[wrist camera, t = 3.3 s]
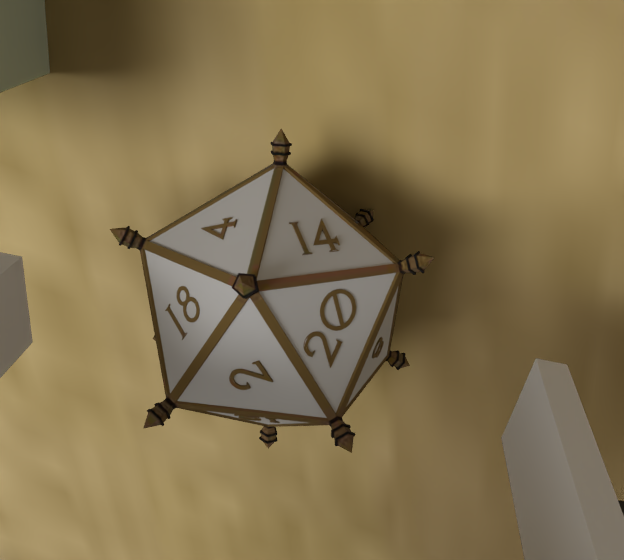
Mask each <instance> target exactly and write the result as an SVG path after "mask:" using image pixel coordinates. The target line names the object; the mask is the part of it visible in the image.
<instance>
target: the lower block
mask: <svg viewBox="0 0 624 560" xmlns="http://www.w3.org/2000/svg"><path fill="white" fill-rule="evenodd" d="M49 73H50V66H49V53H48V39H47V26H46V13H45V0H0V92H3V91H5V90H8V89H10V88H13V87H16V86H18V85H21V84H23V83H26V82H28V81H31V80H33V79H36V78H39V77H41V76H44V75H46V74H49Z"/></svg>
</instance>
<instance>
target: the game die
mask: <svg viewBox="0 0 624 560" xmlns="http://www.w3.org/2000/svg"><path fill="white" fill-rule="evenodd" d="M271 145H272V149H273V151H271V154H272V155H273V157H274V162H273V164H271V165H270V166H268V167H266V168H265V169H263V170H261V171H260V172H258V173H256V174H254V175H253V176H251V177H249V178H248V179H246V180H244V181H243V182H241V183H239V184H237V185H236V186H234V187H232V188H231V189H229V190H227V191H225V192H224V193H222V194H220V195H219V196H217V197H215V198H214V199H212V200H210V201H208V202H207V203H205V204H203V205H202V206H200V207H198V208H197V209H195V210H193V211H191V212H190V213H188V214H186V215H185V216H183V217H181V218H180V219H178V220H176V221H174V222H173V223H171V224H169V225H168V226H166V227H164V228H162V229H161V230H159V231H157V232H156V233H154V234H152V235H151V236H149V237H147V238H143V237H142V236H140V235H139V234H138V231H137V230H136V231H133V230H131V229H129V226H128V227H127V228H116V229H110V230H111V232H112V233H113V234H114V236H115V237H116V239H117V240H118V242H119V245H120V246H121V244H122V245H125V246H128V249H130V247H131V248H137V249H139V250H140V253H141V259H142V264H143V270H144V276H145V281H146V287H147V293H148V298H149V304H150V310H151V315H152V321H153V327H154V332H155V336H154V337H153V339H154V340H155V341H156V344H157V349H158V355H159V360H160V366H161V372H162V377H163V383H164V389H165V394H166V399H165V400H164V401H163V402H161V403H156V404H155V407H154V408H152V409H149V410H147V411H148V415H147V418H146V422H145V425H144V428H148V427H152V426H157V425H162V426H163V425H164V423H163V422H164V421H165V420H166V419H167V418H168V419H170V418H171V417H170V414H171V412H172V410H173V409H175V408H181V409H186V410H190V411H195V412H200V413H205V414H210V415H214V416H219V417H224V418H229V419H233V420H238V421H243V422H248V423H253V424H257V425H262V426H264V427H263V429H262V430H261V431H260V433H261V437H260V438H259V439H260V440H262V441H263V442H264V443H265V445H266V446H267V447H268V448H269V447H270V446H271V445H272V444H273V443H274V442H276V441H277V437H276V435H277V431H276V427H275V426H311V425H330V426H331V428H332V430H331V437H332V438H334V439H335V446H340V447H342V448H344V449H346V450H347V451H349V452H351V453H352V445H353V437H354V436H355V433H353V432H351V430H350V429H349V428H350V425H347V424H345V423H344V422H343V420H342V416H343V415H344V414H345V412H346V411H347V410H348V409H349V407H350V406H351V405H352V403H353V402H354V401H355V400H356V398H357V397H358V396H359V394H360V393H361V392H362V390H363V389H364V388H365V387H366V385H367V384H368V383H369V381H370V380H371V379H372V378H373V376H374V375H375V374H376V372H377V371H378V370H379V368H380V367H381V366H382V365H383V363H384V362H385V361H388V363H389V364H390V365H391V366H392V367H393V366H395V367H396V369H397V370H399V369H400V368H402V367H406V366H410V365H409V363H408V361H407V359H406V357H405V353H399V351H390V347H391V341H392V336H393V330H394V324H395V319H396V313H397V307H398V302H399V296H400V290H401V285H402V279H403V274H405V273H412V274H413V275H415V274H416V272H420V271H421V272H422V273H424V270H425V269H426V267H427V266H428V265H429V264H430V263H431V261H432V260H433V259H434V257H431V256H427V255H424V254H421V253H420V252H419V251H418V252H417V253H415V254H414V255H411V254H410V255H408V256H407V257H406V259H405V260H399V259H398V258H396V257H395V256H394V255H393V254H392V253H391V252H390V251H389V250H388V249H387V248H386V247H384V246H383V245H382V244H381V243H380V242H379V241H378V240H377V239H376V238H375V237H374V236H373V235H371V234H370V233H369V232H368V231H367V230H366V229H365V228H364V227H365V226H367V225H369V223H370V222H372V221H373V220H374V219H373V210H363V209H360V212H359V214H358V213H357V214H356V218H355V219H354V218H352V217H351V216H350V215H349V214H347V213H346V212H345V211H344V210H342V209H341V208H340V207H339V206H338V205H336V204H335V203H334V202H333V201H331V200H330V199H329V198H328V197H326V196H325V195H324V194H323V193H322V192H320V191H319V190H318V189H317V188H315V187H314V186H313V185H312V184H310V183H309V182H308V181H307V180H306V179H304V178H303V177H302V176H301V175H299V174H298V173H297V172H296V171H294V170H293V169H292V168H291V167H290V166H288V165H287V162H286V161H287V158H288V155H291V152H289V147H290V146H292V144H291V143H289V141H288V140H287V138H286V136H285V134H284V133H283V131H282V129H281V130H280V131H279V133H278V134H277V136H276V138H275V139H274V141H273V142H271Z"/></svg>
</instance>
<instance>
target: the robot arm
mask: <svg viewBox="0 0 624 560" xmlns="http://www.w3.org/2000/svg"><path fill="white" fill-rule="evenodd" d="M31 343H32V334H31V326H30V318H29V310H28V302H27V294H26V286H25V278H24V269H23V261H22V257H21V256H16V255H11V254H6V253H1V252H0V378H1V377H2V376H3V374H4V373H5V372H6V371H7V370H8V369H9V368H10V367H11V366H12V365H13V363H14V362H15V361H16V360H17V359H18V358H19V357H20V356H21V355H22V353H23V352H24V351H25V350H26V349H27V348H28V347H29V346H30V345H31ZM501 439H502V444H503V449H504V454H505V459H506V465H507V470H508V475H509V480H510V486H511V491H512V496H513V501H514V507H515V512H516V517H517V522H518V528H519V533H520V538H521V543H522V549H523V554H524V559H525V560H624V501H619V500H618V499H617V497H616V494H615V491H614V489H613V486H612V483H611V481H610V478H609V475H608V473H607V470H606V467H605V465H604V462H603V459H602V457H601V454H600V451H599V449H598V446H597V443H596V441H595V438H594V435H593V432H592V430H591V427H590V424H589V422H588V419H587V416H586V414H585V411H584V408H583V406H582V403H581V400H580V398H579V395H578V392H577V390H576V387H575V384H574V382H573V379H572V376H571V374H570V371H569V368H568V366H567V364H562V363H557V362H552V361H547V360H542V359H537V358H536V359H535V362H534V364H533V366H532V369H531V371H530V373H529V375H528V378H527V380H526V382H525V385H524V387H523V389H522V392H521V394H520V396H519V398H518V401H517V403H516V405H515V408H514V410H513V412H512V415H511V417H510V419H509V421H508V424H507V426H506V428H505V431H504V433H503V435H502V438H501Z"/></svg>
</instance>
